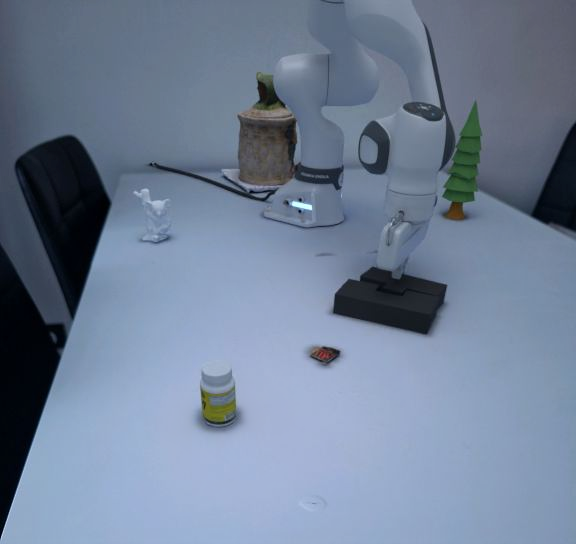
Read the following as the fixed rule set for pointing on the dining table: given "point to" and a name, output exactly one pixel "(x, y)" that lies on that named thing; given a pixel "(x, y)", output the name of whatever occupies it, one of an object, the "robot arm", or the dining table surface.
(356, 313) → the charcoal pad
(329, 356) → the matchbox
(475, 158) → the decorative tree
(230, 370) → the supplement bottle
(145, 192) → the koala figurine
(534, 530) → the dining table surface
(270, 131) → the cookie jar
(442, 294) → the black pad
